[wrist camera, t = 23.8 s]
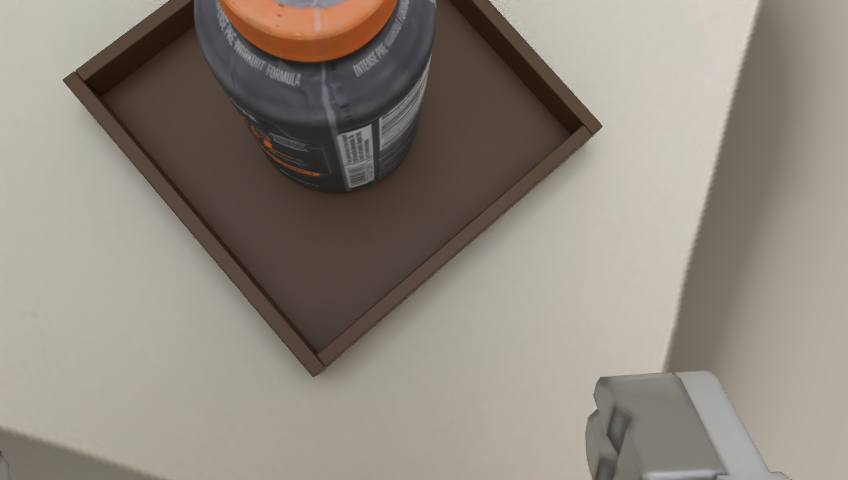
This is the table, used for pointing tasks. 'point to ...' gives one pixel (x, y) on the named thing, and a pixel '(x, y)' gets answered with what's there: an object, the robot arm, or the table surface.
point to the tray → (331, 211)
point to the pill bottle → (323, 81)
